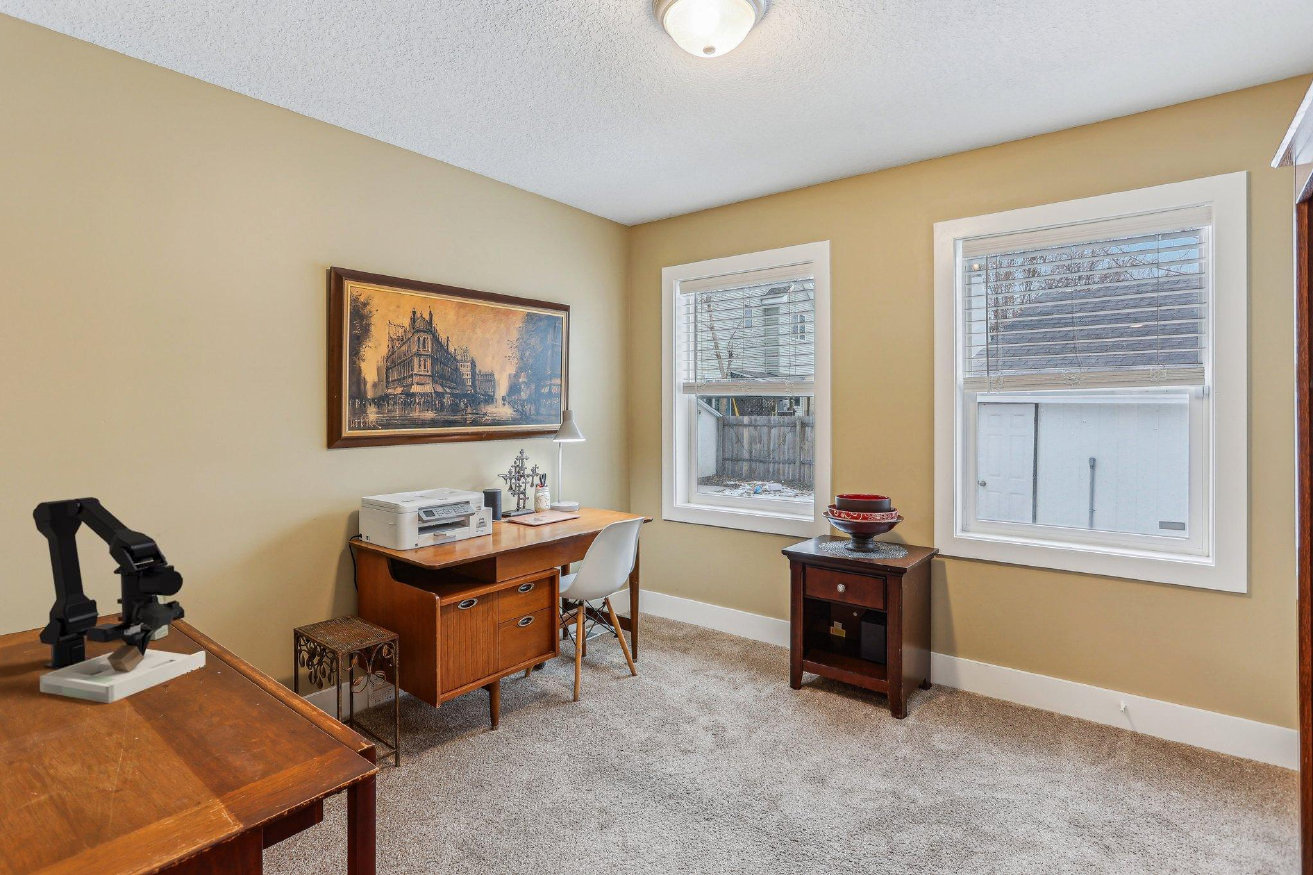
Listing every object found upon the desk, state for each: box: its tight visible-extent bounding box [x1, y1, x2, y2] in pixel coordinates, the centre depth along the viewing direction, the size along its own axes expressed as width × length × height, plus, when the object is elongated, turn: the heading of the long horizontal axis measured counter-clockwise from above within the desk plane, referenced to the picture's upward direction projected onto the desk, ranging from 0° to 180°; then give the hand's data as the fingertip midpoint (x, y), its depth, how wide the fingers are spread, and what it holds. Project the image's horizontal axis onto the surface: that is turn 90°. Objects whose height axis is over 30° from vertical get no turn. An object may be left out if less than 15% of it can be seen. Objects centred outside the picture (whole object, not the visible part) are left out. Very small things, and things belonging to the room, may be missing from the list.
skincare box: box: [150, 595, 169, 641], centre depth 179 cm, size 6×4×12 cm
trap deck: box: [39, 648, 206, 704], centre depth 152 cm, size 20×22×4 cm
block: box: [107, 644, 144, 672], centre depth 151 cm, size 4×4×4 cm
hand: (139, 659), depth 154 cm, fingers closed
